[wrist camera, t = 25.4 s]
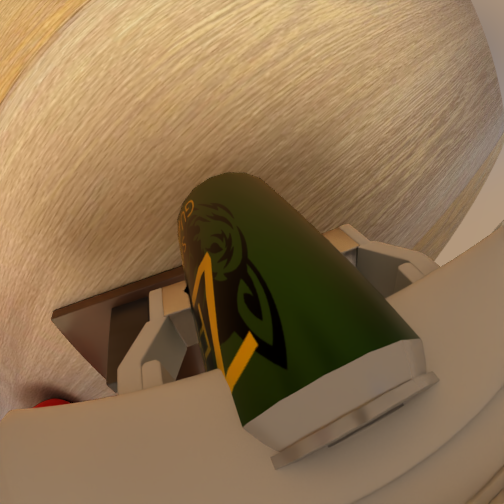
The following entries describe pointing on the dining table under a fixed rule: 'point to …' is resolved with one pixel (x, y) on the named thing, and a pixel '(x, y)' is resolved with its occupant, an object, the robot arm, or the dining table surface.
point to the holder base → (118, 326)
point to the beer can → (291, 321)
